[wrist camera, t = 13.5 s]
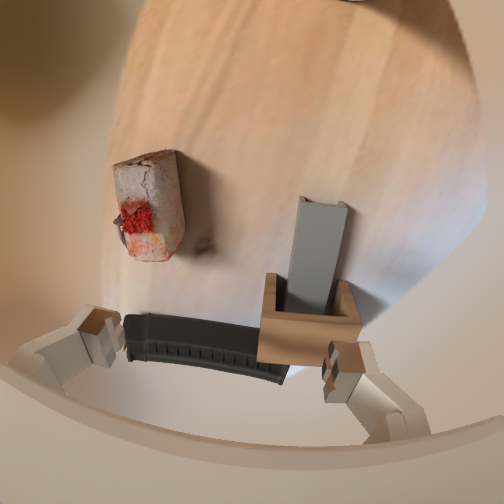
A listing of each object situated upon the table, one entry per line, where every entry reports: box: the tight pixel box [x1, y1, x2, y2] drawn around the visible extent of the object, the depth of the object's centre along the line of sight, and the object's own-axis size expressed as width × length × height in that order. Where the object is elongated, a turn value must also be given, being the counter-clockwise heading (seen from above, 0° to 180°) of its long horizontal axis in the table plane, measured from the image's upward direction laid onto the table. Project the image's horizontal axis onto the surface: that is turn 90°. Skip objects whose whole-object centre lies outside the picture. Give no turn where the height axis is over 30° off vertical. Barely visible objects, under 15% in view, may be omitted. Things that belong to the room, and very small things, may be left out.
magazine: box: [122, 314, 290, 385], centre depth 44 cm, size 17×3×30 cm
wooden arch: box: [256, 273, 362, 367], centre depth 39 cm, size 8×12×10 cm, turn 86°
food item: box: [112, 149, 186, 262], centre depth 34 cm, size 14×8×10 cm, turn 4°
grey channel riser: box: [282, 196, 348, 315], centre depth 40 cm, size 20×6×3 cm, turn 176°
